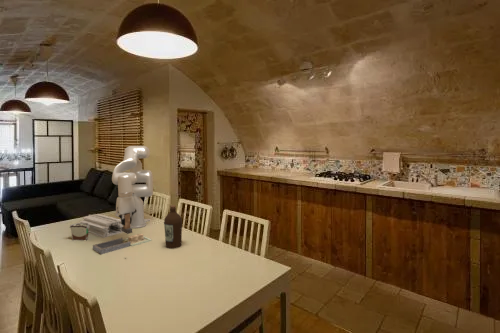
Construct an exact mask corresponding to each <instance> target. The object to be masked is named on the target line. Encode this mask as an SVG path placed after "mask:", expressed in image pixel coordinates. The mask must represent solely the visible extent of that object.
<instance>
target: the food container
mask: <svg viewBox="0 0 500 333" xmlns="http://www.w3.org/2000/svg"><path fill="white" fill-rule="evenodd" d="M69 228H70V233H71V239H72V241H84V240H86V241H88V239H89V233H88V228H89V224H88V223H80V222H76V223H72V224H70V225H69Z"/></svg>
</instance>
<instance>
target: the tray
mask: <svg viewBox="0 0 500 333" xmlns="http://www.w3.org/2000/svg"><path fill="white" fill-rule="evenodd" d="M125 241H128V237H126V238H123V242H125ZM152 241H153V240H152V239H151V238H149V237H147V236H145V235H144V240H142V241H139V242H135V243H131V246H130V247H135V246H139V245H141V244H145V243H149V242H152Z"/></svg>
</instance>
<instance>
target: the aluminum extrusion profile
mask: <svg viewBox="0 0 500 333" xmlns="http://www.w3.org/2000/svg"><path fill="white" fill-rule="evenodd" d="M82 219H83V220H79V223H88V224H89V228H88V234H90V235H94V236H97V237H99V238H101V239H104V238H108V237H112V236H115V235H118V234H122V233H123V232H122V228H121V227H123V225H122V224H121V218H120V219H119V218H118V217H117V218H116V217H112V216H110V215H106V214H105V215H104V214H102V213H97V214H96V213H92V214H88V215H85V216H83V217H82Z"/></svg>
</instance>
